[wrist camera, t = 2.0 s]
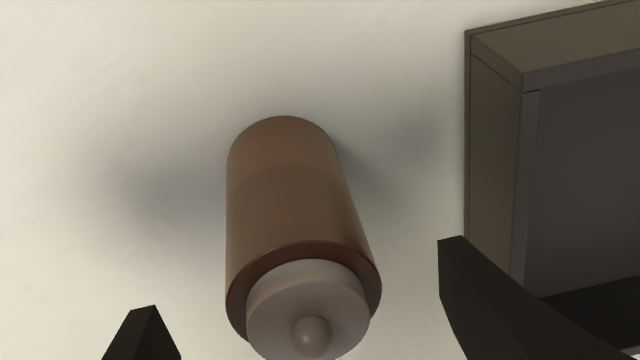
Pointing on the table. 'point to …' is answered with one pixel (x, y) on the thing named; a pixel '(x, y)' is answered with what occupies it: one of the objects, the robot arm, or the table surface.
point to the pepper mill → (295, 245)
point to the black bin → (560, 160)
